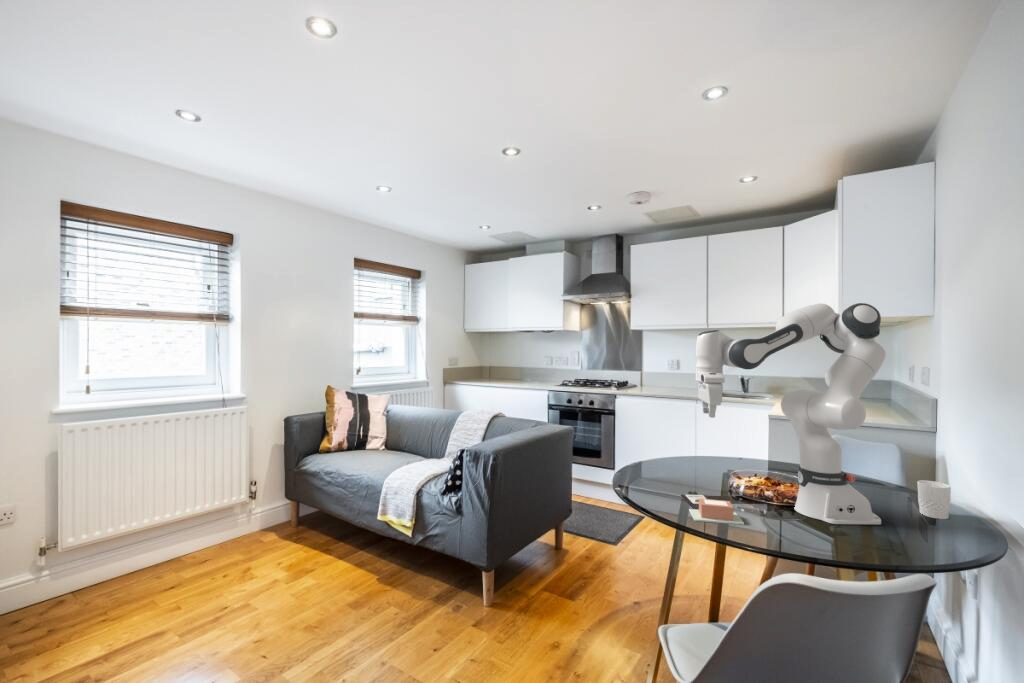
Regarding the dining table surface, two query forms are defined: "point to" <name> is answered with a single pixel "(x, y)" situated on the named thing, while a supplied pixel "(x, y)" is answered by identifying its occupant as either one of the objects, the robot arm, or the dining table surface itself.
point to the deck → (716, 509)
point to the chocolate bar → (694, 500)
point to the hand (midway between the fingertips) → (708, 415)
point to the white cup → (934, 499)
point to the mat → (697, 517)
